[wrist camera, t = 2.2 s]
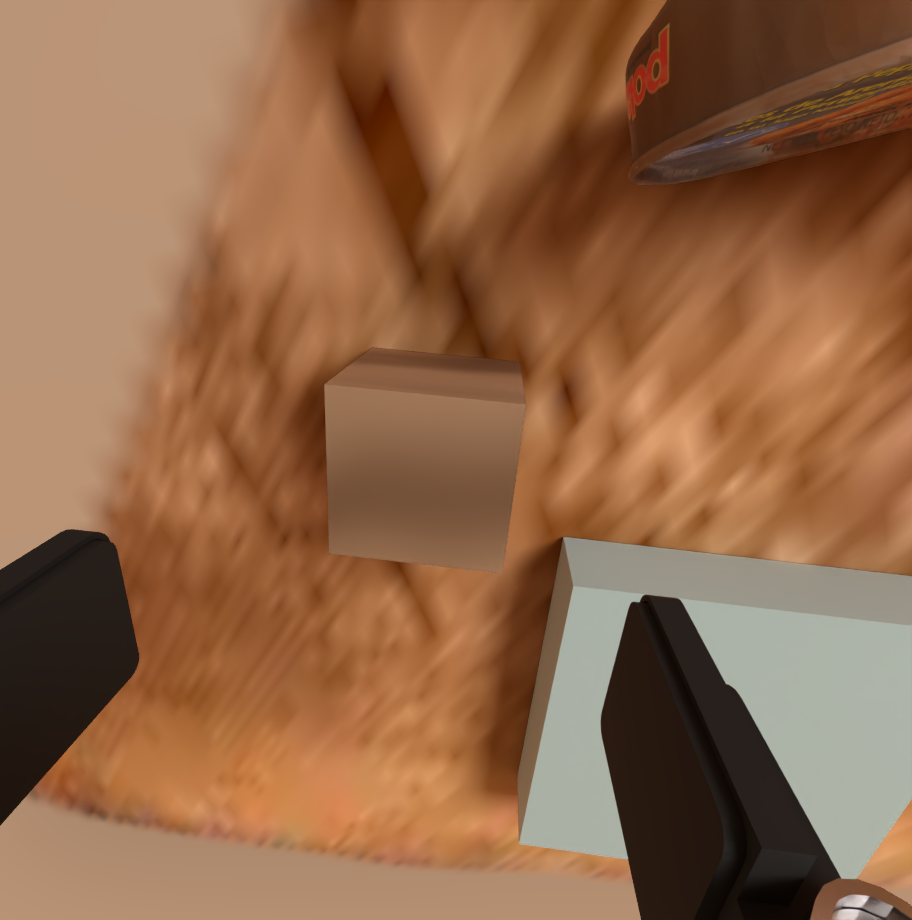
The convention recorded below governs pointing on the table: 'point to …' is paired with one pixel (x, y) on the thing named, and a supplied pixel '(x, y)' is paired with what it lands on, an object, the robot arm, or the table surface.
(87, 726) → the robot arm
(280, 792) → the table surface
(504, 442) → the walnut block
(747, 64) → the tin
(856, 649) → the plinth
